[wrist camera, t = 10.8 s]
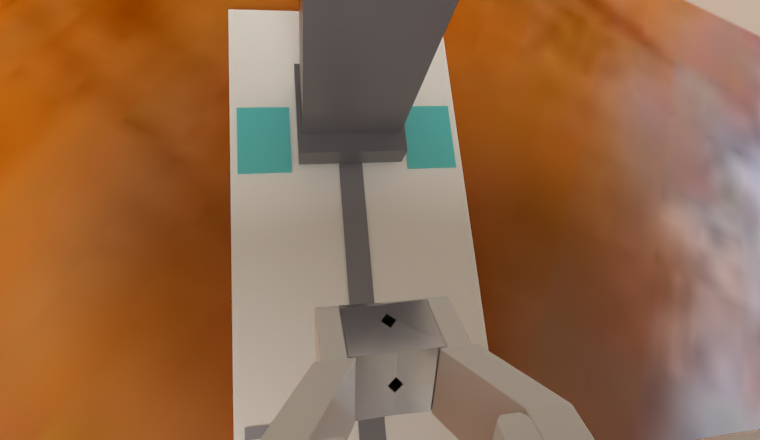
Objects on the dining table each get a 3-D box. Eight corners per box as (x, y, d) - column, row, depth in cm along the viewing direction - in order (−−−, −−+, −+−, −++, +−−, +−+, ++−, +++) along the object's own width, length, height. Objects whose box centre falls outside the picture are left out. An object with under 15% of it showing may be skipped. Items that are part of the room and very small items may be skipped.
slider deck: (505, 563, 19) (522, 580, 18) (241, 610, 17) (235, 634, 16) (432, 34, 25) (440, 13, 24) (232, 30, 23) (228, 8, 22)
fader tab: (401, 161, 21) (500, -33, 11) (298, 164, 20) (294, -42, 10) (392, 79, 22) (474, -172, 12) (294, 79, 21) (286, -190, 11)
